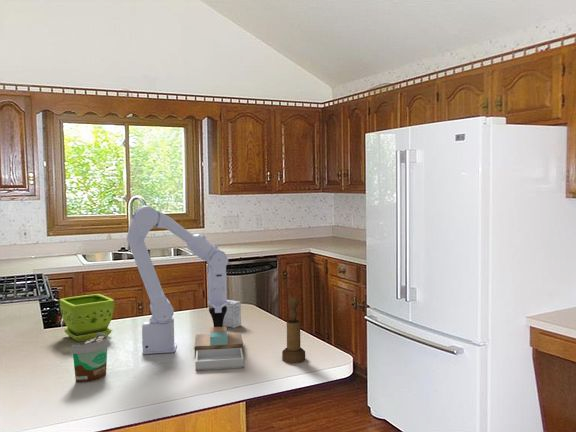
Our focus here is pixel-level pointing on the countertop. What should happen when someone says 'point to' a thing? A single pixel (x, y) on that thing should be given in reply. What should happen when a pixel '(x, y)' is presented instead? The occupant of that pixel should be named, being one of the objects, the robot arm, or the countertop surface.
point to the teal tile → (218, 338)
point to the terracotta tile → (218, 329)
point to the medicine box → (233, 314)
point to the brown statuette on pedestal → (293, 336)
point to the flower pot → (87, 315)
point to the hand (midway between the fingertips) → (218, 330)
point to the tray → (219, 359)
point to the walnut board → (204, 344)
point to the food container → (91, 358)
